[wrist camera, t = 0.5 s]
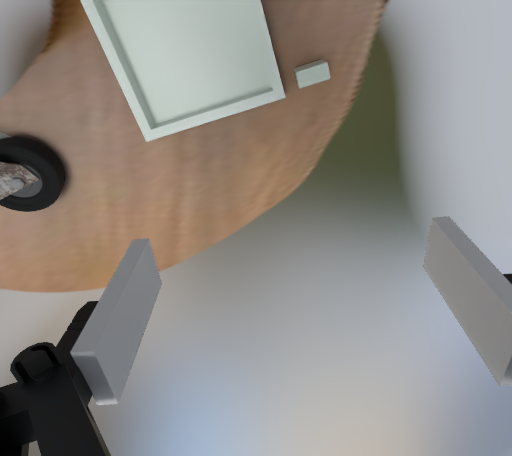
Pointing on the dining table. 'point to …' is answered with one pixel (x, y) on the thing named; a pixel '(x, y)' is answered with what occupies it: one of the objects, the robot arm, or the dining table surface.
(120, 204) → the dining table surface
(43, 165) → the caster wheel
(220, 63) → the pale green tray
